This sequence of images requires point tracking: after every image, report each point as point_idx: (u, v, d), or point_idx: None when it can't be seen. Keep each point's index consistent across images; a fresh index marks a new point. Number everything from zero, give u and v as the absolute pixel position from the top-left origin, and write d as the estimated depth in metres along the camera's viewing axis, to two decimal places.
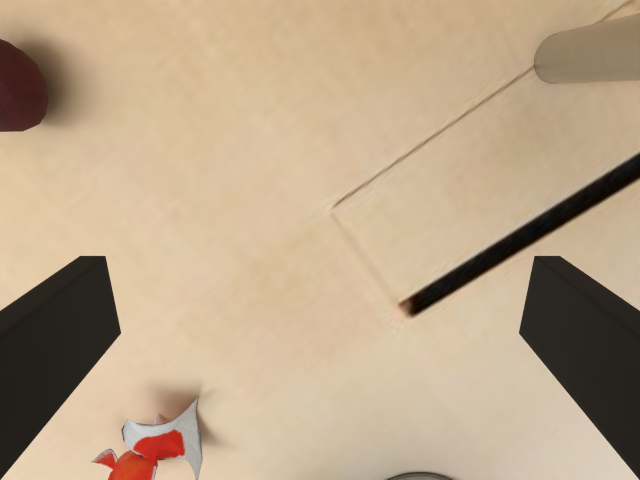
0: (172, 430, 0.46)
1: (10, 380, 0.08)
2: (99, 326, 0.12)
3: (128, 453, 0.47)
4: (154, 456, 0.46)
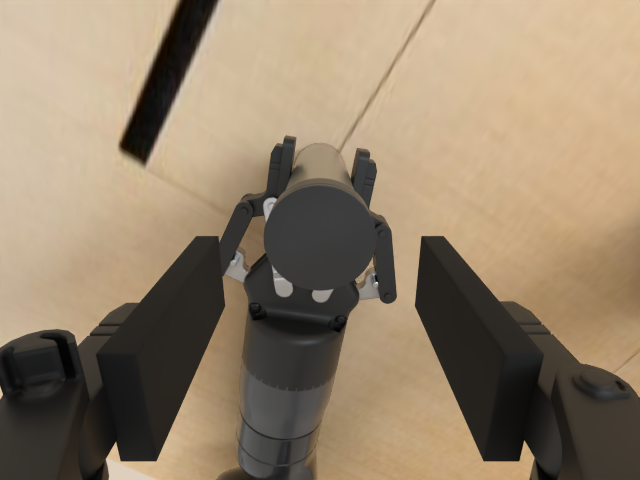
0: None
1: (180, 332, 0.10)
2: (216, 297, 0.13)
3: None
4: None
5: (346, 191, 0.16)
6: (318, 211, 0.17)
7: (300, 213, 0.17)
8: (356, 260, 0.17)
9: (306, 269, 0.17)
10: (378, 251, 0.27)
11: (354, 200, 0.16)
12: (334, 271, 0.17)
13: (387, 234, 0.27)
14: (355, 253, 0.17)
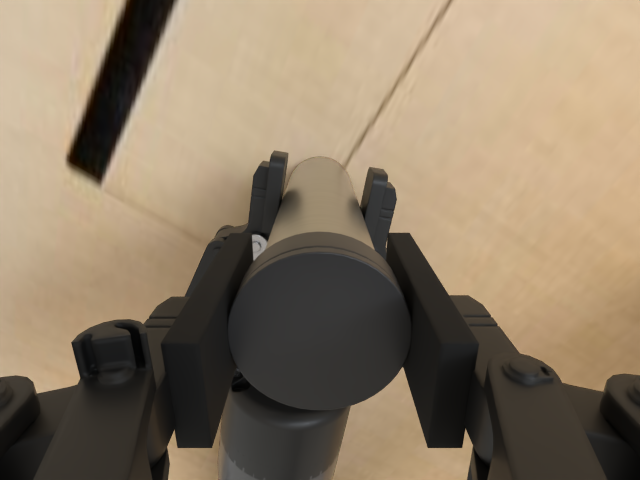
0: None
1: None
2: None
3: None
4: None
5: (364, 260, 0.10)
6: (317, 293, 0.10)
7: (286, 295, 0.10)
8: (379, 367, 0.11)
9: (297, 380, 0.11)
10: None
11: (378, 275, 0.10)
12: (343, 383, 0.11)
13: None
14: (377, 356, 0.10)
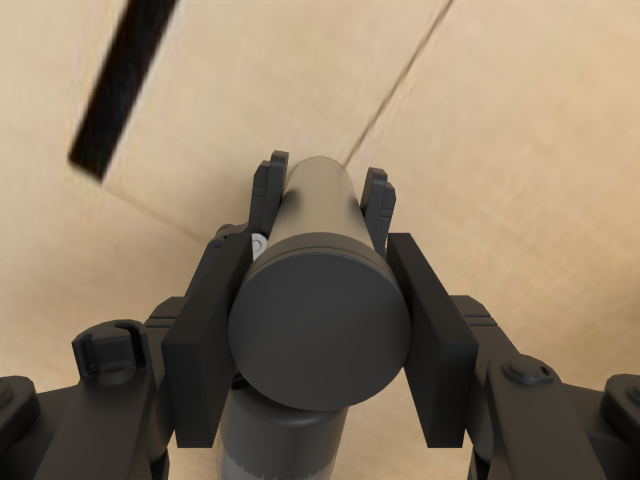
0: None
1: None
2: None
3: None
4: None
5: None
6: (272, 351, 0.10)
7: (283, 373, 0.11)
8: (338, 276, 0.10)
9: (375, 345, 0.10)
10: None
11: (236, 307, 0.10)
12: (368, 305, 0.10)
13: None
14: (326, 281, 0.10)
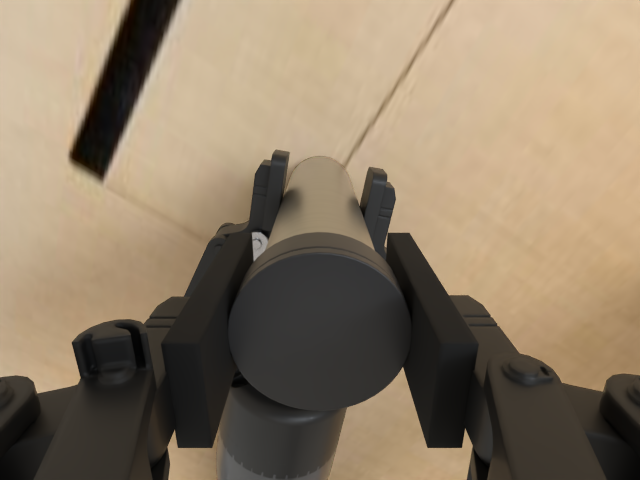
0: None
1: (227, 325, 0.10)
2: None
3: None
4: None
5: None
6: (346, 373, 0.11)
7: (369, 358, 0.11)
8: (249, 339, 0.10)
9: (313, 288, 0.10)
10: None
11: (308, 406, 0.11)
12: (269, 308, 0.10)
13: None
14: (258, 347, 0.10)
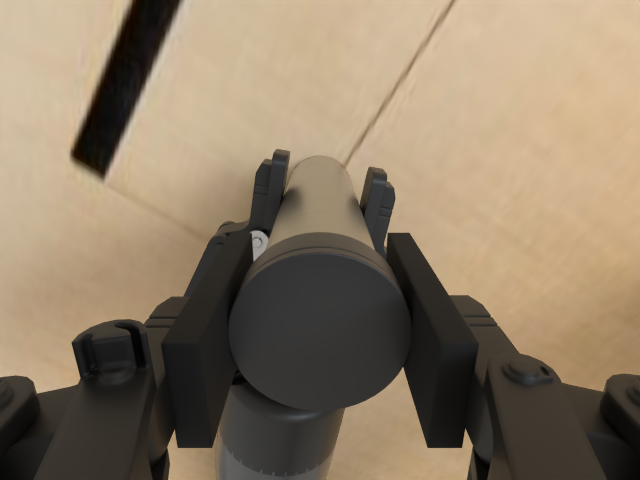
0: None
1: (227, 325, 0.10)
2: None
3: None
4: None
5: (408, 310, 0.10)
6: (354, 305, 0.10)
7: (331, 288, 0.10)
8: (338, 393, 0.11)
9: (268, 356, 0.10)
10: None
11: (408, 329, 0.10)
12: (300, 384, 0.11)
13: None
14: (345, 385, 0.11)
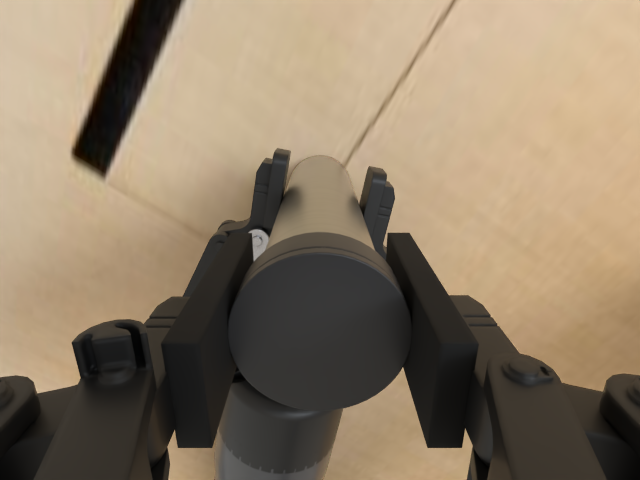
0: None
1: (227, 325, 0.10)
2: None
3: None
4: None
5: (265, 266, 0.10)
6: (273, 319, 0.10)
7: (263, 342, 0.10)
8: (382, 306, 0.10)
9: (352, 375, 0.11)
10: None
11: (284, 264, 0.10)
12: (380, 343, 0.10)
13: None
14: (370, 302, 0.10)
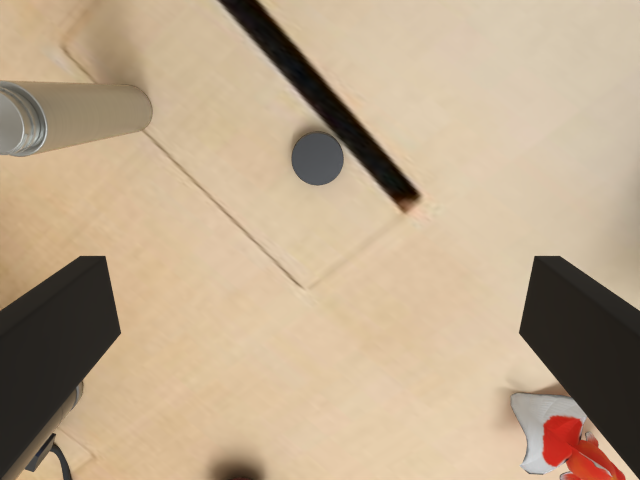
0: (543, 426, 0.46)
1: (10, 380, 0.08)
2: (99, 326, 0.12)
3: None
4: (571, 447, 0.45)
5: (302, 137, 0.36)
6: (304, 153, 0.37)
7: (301, 161, 0.37)
8: (334, 149, 0.36)
9: (326, 172, 0.37)
10: None
11: (308, 136, 0.36)
12: (334, 161, 0.37)
13: None
14: (331, 148, 0.36)
